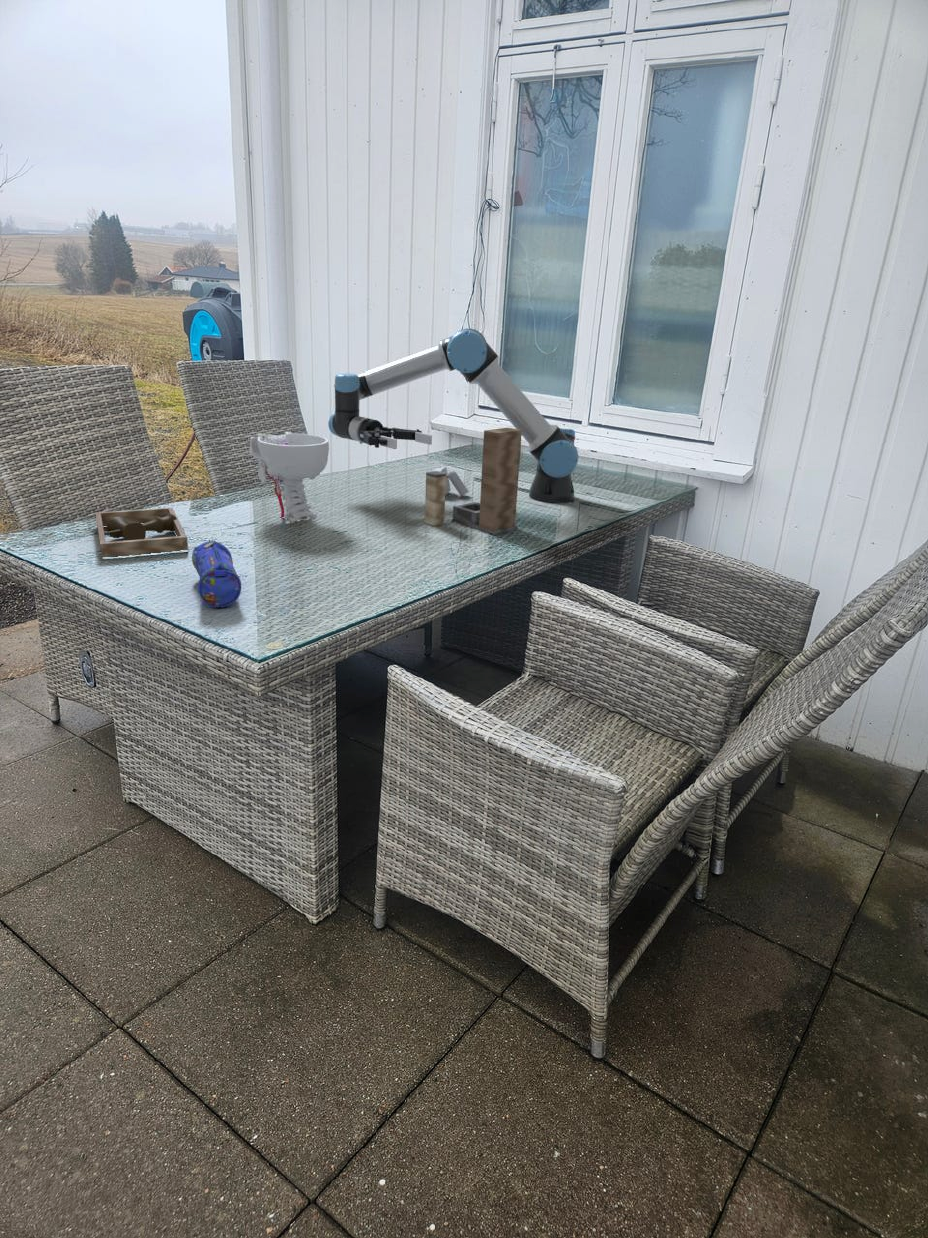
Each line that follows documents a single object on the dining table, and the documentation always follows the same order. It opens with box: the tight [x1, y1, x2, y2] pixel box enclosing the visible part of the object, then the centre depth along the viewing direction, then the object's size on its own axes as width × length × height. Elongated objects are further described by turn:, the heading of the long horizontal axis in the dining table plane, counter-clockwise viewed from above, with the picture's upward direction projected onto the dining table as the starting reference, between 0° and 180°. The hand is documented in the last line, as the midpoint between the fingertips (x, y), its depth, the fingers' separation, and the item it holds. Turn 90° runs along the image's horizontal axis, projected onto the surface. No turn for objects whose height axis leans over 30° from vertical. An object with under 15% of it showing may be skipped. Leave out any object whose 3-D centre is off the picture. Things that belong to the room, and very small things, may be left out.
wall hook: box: [432, 466, 469, 497], centre depth 257 cm, size 8×10×10 cm
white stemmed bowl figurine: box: [248, 431, 330, 523], centre depth 220 cm, size 25×19×23 cm
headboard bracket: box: [451, 427, 522, 536], centre depth 221 cm, size 10×17×28 cm, turn 46°
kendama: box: [104, 513, 178, 541], centre depth 199 cm, size 6×10×20 cm
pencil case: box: [191, 539, 242, 609], centre depth 167 cm, size 22×9×10 cm, turn 21°
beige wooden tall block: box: [424, 470, 446, 527], centre depth 223 cm, size 4×4×15 cm
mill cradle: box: [94, 506, 189, 557], centre depth 199 cm, size 19×29×4 cm, turn 26°
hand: (413, 442), depth 223 cm, fingers open, 13 cm apart
